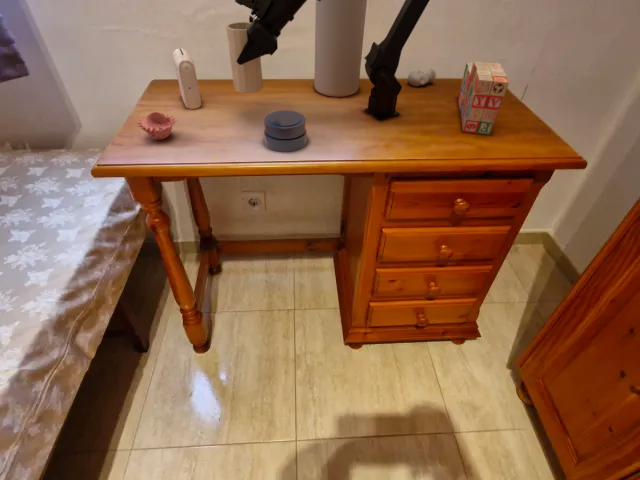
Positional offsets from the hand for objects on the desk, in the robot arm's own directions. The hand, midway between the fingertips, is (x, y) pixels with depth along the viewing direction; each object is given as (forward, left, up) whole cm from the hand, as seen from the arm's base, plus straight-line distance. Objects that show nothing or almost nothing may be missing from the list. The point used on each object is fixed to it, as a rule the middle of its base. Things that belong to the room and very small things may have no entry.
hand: (239, 58), depth 83 cm
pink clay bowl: (+21, +2, -13) cm, 25 cm away
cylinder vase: (-29, -3, -13) cm, 32 cm away
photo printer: (+9, -14, -13) cm, 22 cm away
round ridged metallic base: (-2, +17, -13) cm, 21 cm away
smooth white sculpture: (-53, +6, -13) cm, 55 cm away
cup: (-1, +1, -7) cm, 7 cm away
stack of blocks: (-50, +28, -13) cm, 59 cm away
